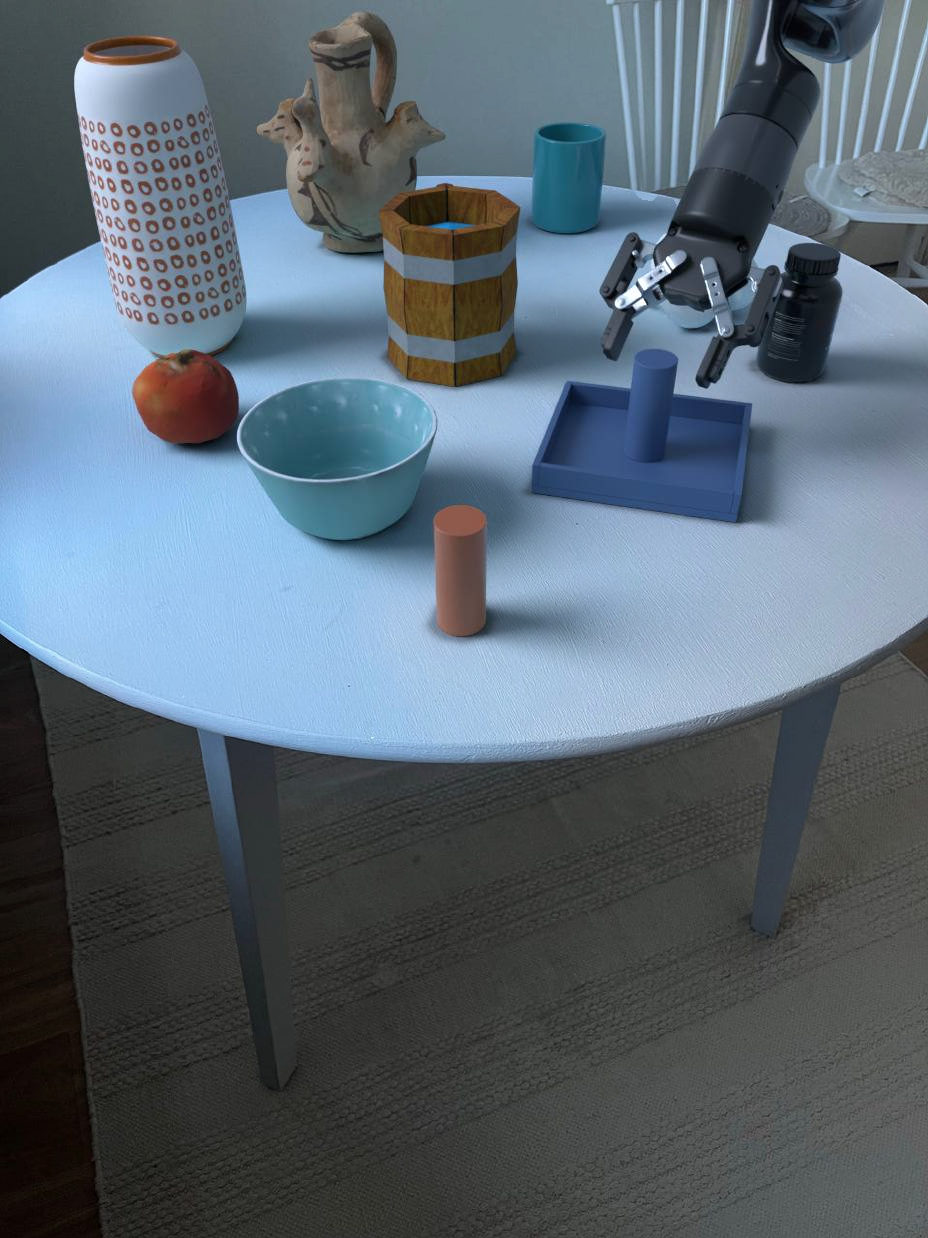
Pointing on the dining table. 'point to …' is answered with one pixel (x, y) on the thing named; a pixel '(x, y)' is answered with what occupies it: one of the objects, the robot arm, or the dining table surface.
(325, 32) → the ceramic vessel
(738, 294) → the white trefoil knot
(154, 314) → the vase
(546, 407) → the dining table surface
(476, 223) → the wooden banded barrel
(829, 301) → the supplement bottle
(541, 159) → the cup
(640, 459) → the blue peg
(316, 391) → the bowl
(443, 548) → the terracotta peg
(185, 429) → the red round fruit
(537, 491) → the blue tray
